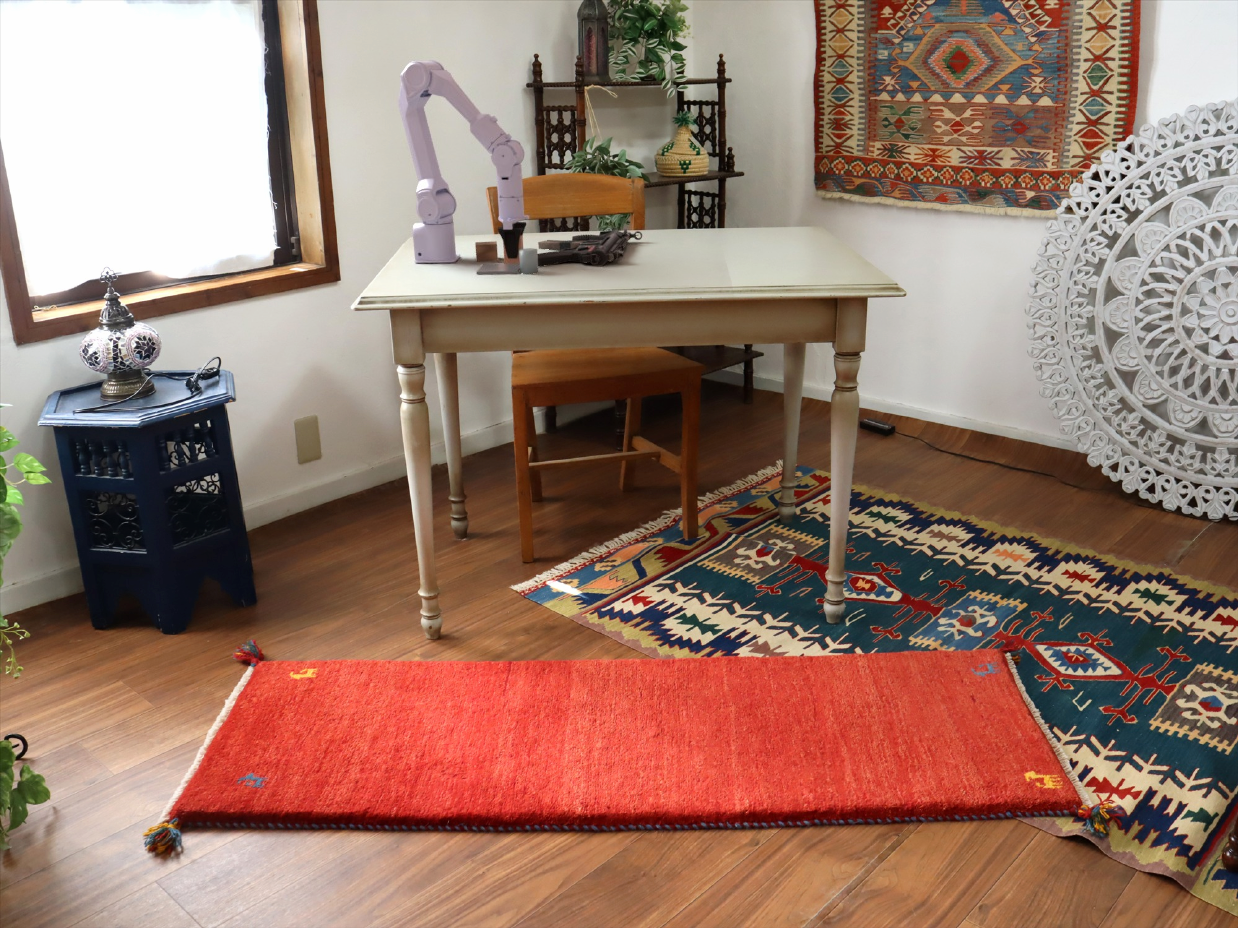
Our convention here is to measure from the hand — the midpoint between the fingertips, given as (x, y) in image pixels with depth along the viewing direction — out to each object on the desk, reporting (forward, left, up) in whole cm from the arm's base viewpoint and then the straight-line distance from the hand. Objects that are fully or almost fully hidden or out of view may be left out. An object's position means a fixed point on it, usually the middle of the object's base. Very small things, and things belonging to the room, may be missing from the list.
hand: (513, 256), depth 245 cm
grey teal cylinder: (+5, -12, -2) cm, 13 cm away
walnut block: (-7, +4, -2) cm, 8 cm away
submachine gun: (+15, +10, -2) cm, 19 cm away
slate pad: (-2, -9, -1) cm, 9 cm away
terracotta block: (0, 0, -2) cm, 2 cm away
